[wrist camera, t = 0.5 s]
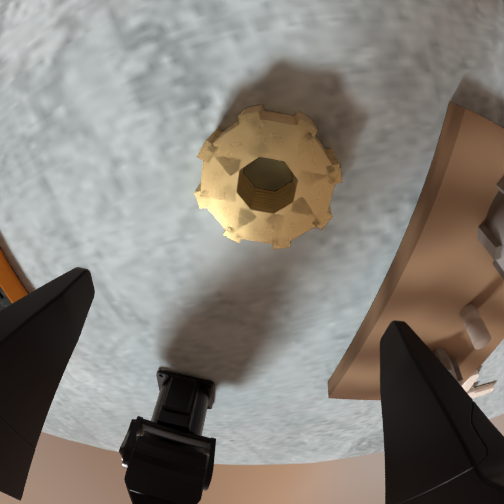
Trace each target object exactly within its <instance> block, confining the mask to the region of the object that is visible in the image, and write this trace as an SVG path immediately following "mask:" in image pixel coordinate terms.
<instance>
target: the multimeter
mask: <svg viewBox="0 0 504 504" xmlns="http://www.w3.org/2000/svg"><path fill="white" fill-rule="evenodd" d="M27 294H28V293H27V291H26V290H25V288H24V287H23V285H22V284H21V282H20V281H19V279H18V278H17V276H16V275H15V273H14V272H13V270H12V268H11V266H10V265H9V263H8V261H7V259H6V258H5V256H4V254H3V252H2V250H1V249H0V310H2V309H4V308H5V307H7V306H9V305H10V304H12V303H14V302H15V301H17V300H19V299H21V298H22V297H24V296H26V295H27Z"/></svg>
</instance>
